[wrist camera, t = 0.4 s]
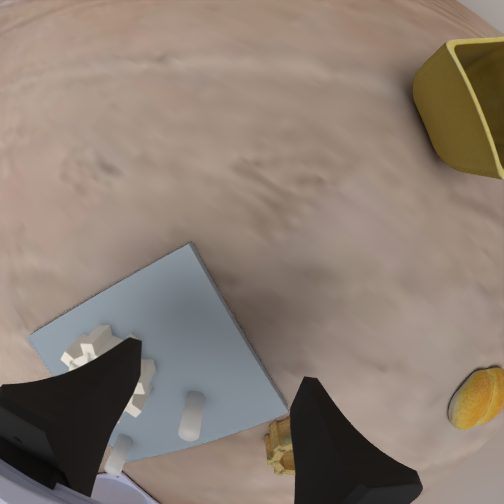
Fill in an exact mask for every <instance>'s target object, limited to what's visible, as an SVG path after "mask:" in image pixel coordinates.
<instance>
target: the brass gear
mask: <svg viewBox="0 0 504 504" xmlns="http://www.w3.org/2000/svg"><path fill="white" fill-rule="evenodd" d="M265 445H266V454H267V464H268V466H269V465H272V466H273V467H274V473H275V474H278V475H280V476H282V475H283V474H289V475H295V464H294V456H293V448H292V440H291V431H290V417H289V418H287V419H285V420H282V421H280V422H278V421H276V420H275V421H274V422H273V423H272V424H271V425H270V433H269V435H265Z"/></svg>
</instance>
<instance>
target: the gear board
mask: <svg viewBox="0 0 504 504" xmlns="http://www.w3.org/2000/svg"><path fill="white" fill-rule="evenodd" d="M99 325H110V327H111V331H112V335H113V336H115V337H118V338H120V339H123V340H125V339H126V338H127V336H128V335H129V334H130V333H131V334H133V335H134V336H135V337H136V338H138V339H139V340H141V341H142V353H141V358H142V359H153V360H154V365H155V369H156V371H155V373H154V375H153V377H152V380H151V382H150V385H151V386H152V389H151V391H150V393H149V396H148V398H147V400H146V403H145V405H144V407H143V410H142V412H141V413H140V414H139V415H138V416H137V417H136V418H135V417H134V416H132V415H131V414H129V413H128V412H126V411H125V412H124V414H123V416H122V418H121V420H120V422H119V423H117V424H116V426H115V428H114V430H113V432H112V434H111V436H110V439H109V442H108V444H109V445H110V446H111V447H112V448H113V449H112V451H111V453H110V456H109V458H108V460H107V462H106V465H105V467H104V469H105V471H106V472H107V473H109V474H110V475H113V476H120V474H121V471H122V469H123V466H124V464H125V461H126V462H131V461H136V460H141V459H145V458H150V457H154V456H159V455H163V454H167V453H171V452H175V451H179V450H183V449H186V448H190V447H193V446H197V445H200V444H204V443H207V442H210V441H213V440H217V439H220V438H223V437H226V436H229V435H232V434H235V433H237V432H240V431H243V430H246V429H249V428H251V427H254V426H257V425H259V424H262V423H265V422H267V421H270V420H272V419H275V418H277V417H279V416H282V415H284V414H287V413H289V410H288V406H287V403H286V402H285V400H284V398H283V397H282V395H281V394H280V392H279V391H278V389H277V387H276V386H275V384H274V383H273V381H272V379H271V378H270V376H269V374H268V373H267V371H266V370H265V368H264V366H263V365H262V363H261V361H260V360H259V358H258V356H257V355H256V353H255V352H254V350H253V348H252V347H251V345H250V343H249V342H248V340H247V338H246V336H245V335H244V333H243V331H242V330H241V328H240V326H239V325H238V323H237V321H236V319H235V318H234V316H233V314H232V313H231V311H230V309H229V307H228V306H227V304H226V302H225V300H224V299H223V297H222V295H221V293H220V292H219V290H218V288H217V286H216V285H215V283H214V281H213V279H212V277H211V276H210V274H209V272H208V270H207V268H206V267H205V265H204V263H203V261H202V259H201V258H200V256H199V254H198V252H197V250H196V248H195V247H194V245H193V243H192V241H191V242H189V243H187V244H186V245H184V246H182V247H180V248H178V249H176V250H175V251H173V252H171V253H169V254H167V255H165V256H164V257H162V258H160V259H158V260H156V261H155V262H153V263H151V264H149V265H147V266H146V267H144V268H142V269H140V270H138V271H137V272H135V273H133V274H131V275H130V276H128V277H126V278H124V279H123V280H121V281H119V282H117V283H116V284H114V285H112V286H110V287H109V288H107V289H105V290H103V291H102V292H100V293H98V294H97V295H95V296H93V297H91V298H90V299H88V300H86V301H85V302H83V303H81V304H80V305H78V306H76V307H75V308H73V309H71V310H69V311H68V312H66V313H64V314H63V315H61V316H60V317H58V318H56V319H55V320H53V321H51V322H50V323H48V324H46V325H45V326H43V327H41V328H40V329H38V330H37V331H35V332H33V333H32V334H31V335H29V336H28V339H29V341H30V342H31V344H32V346H33V347H34V349H35V350H36V352H37V354H38V355H39V357H40V358H41V360H42V361H43V363H44V364H45V366H46V367H47V369H48V370H49V372H50V373H51V374H52V376H53V377H54V376H57V375H61V374H64V373H65V372H66V370H67V369H68V368H69V367H68V366H67V365H66V364H65V363H64V362H63V361H62V360H61V357H62V355H63V354H64V352H65V351H66V350H67V349H68V348H69V347H70V346H71V345H72V344H73V343H74V342H75V341H76V340H77V339H78V338H79V337H80V336H81V335H82V334H83V333H85V334H86V335H87V336H88V335H89V334H90V333H91V332H92V331H93V330H94V329H95V328H96V327H97V326H99Z"/></svg>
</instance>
